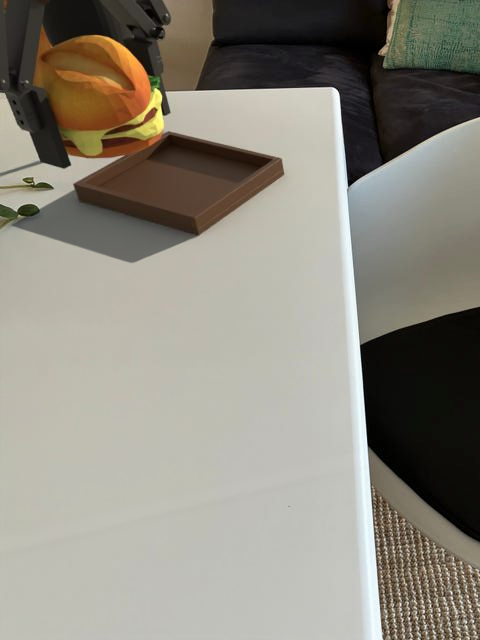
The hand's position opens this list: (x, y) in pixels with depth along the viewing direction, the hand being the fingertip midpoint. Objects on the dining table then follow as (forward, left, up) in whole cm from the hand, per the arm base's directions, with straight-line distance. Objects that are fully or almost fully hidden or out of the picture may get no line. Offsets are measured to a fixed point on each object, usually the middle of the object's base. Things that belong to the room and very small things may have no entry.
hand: (109, 136), depth 69 cm
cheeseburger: (0, 0, -1) cm, 1 cm away
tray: (-14, +19, -18) cm, 30 cm away
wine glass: (-32, +27, -18) cm, 46 cm away
